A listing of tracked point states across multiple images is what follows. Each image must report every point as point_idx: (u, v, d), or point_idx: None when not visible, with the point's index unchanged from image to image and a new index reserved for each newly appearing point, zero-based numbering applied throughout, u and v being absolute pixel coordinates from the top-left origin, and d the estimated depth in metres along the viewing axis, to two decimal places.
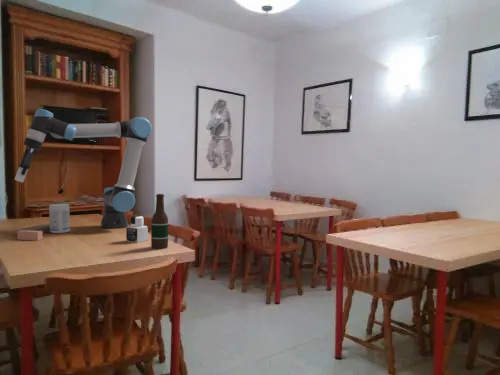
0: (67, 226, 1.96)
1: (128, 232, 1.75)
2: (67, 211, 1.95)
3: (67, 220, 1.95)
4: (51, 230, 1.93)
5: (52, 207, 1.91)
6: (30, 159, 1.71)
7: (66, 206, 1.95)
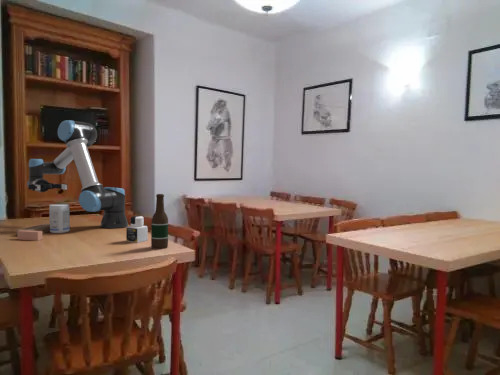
0: (67, 226, 1.96)
1: (128, 232, 1.75)
2: (67, 211, 1.95)
3: (67, 220, 1.95)
4: (51, 230, 1.93)
5: (52, 207, 1.91)
6: None
7: (66, 206, 1.95)
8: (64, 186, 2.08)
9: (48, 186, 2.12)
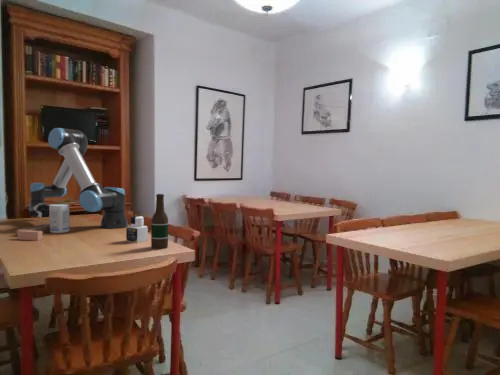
0: (67, 226, 1.96)
1: (128, 232, 1.75)
2: (67, 211, 1.95)
3: (67, 220, 1.95)
4: (51, 230, 1.93)
5: (52, 207, 1.91)
6: None
7: (66, 206, 1.95)
8: None
9: None
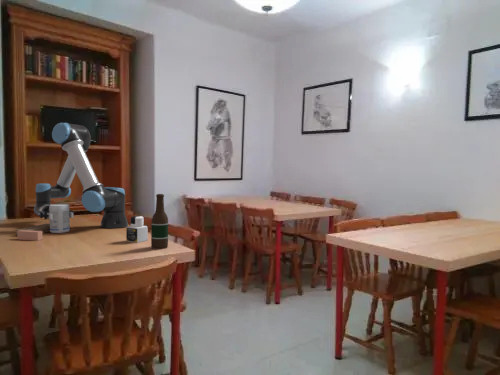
0: (67, 226, 1.96)
1: (128, 232, 1.75)
2: (67, 211, 1.95)
3: (67, 220, 1.95)
4: (51, 230, 1.93)
5: (52, 207, 1.91)
6: (39, 213, 1.96)
7: (66, 206, 1.95)
8: (70, 214, 1.98)
9: None
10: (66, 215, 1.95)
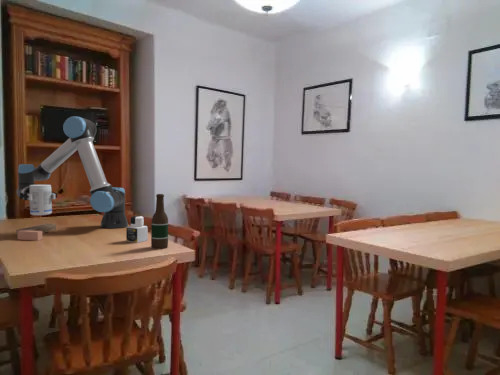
0: (49, 208, 1.82)
1: (128, 232, 1.75)
2: (49, 192, 1.82)
3: (49, 202, 1.82)
4: (31, 212, 1.80)
5: (32, 187, 1.78)
6: (19, 194, 1.83)
7: (47, 186, 1.82)
8: (52, 195, 1.84)
9: None
10: (47, 196, 1.81)
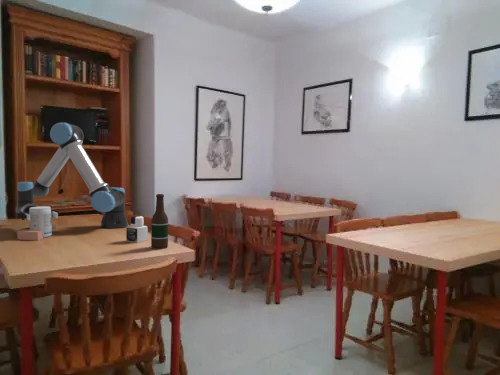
0: (49, 230, 1.82)
1: (128, 232, 1.75)
2: (48, 214, 1.82)
3: (49, 224, 1.82)
4: None
5: (32, 210, 1.78)
6: None
7: (47, 209, 1.81)
8: (55, 214, 1.85)
9: None
10: (47, 218, 1.81)
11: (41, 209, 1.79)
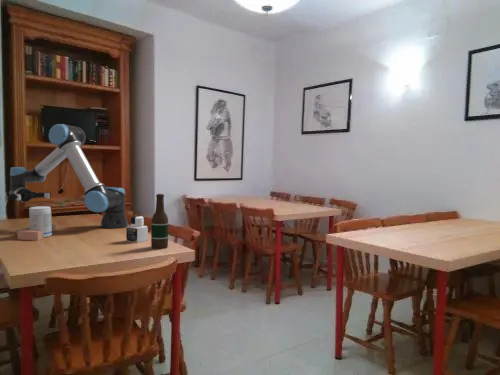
0: (49, 230, 1.82)
1: (128, 232, 1.75)
2: (48, 214, 1.82)
3: (49, 224, 1.82)
4: None
5: (32, 210, 1.78)
6: None
7: (47, 209, 1.81)
8: (47, 194, 1.97)
9: (30, 195, 2.01)
10: (47, 218, 1.81)
11: (41, 209, 1.79)
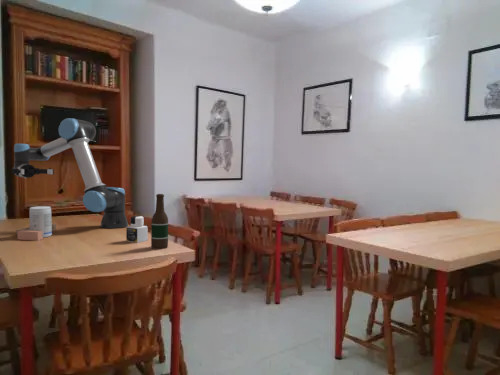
0: (49, 230, 1.82)
1: (128, 232, 1.75)
2: (49, 214, 1.82)
3: (49, 224, 1.82)
4: None
5: (32, 210, 1.78)
6: None
7: (48, 209, 1.81)
8: (50, 171, 1.99)
9: (33, 171, 2.03)
10: (47, 219, 1.81)
11: (41, 209, 1.79)
